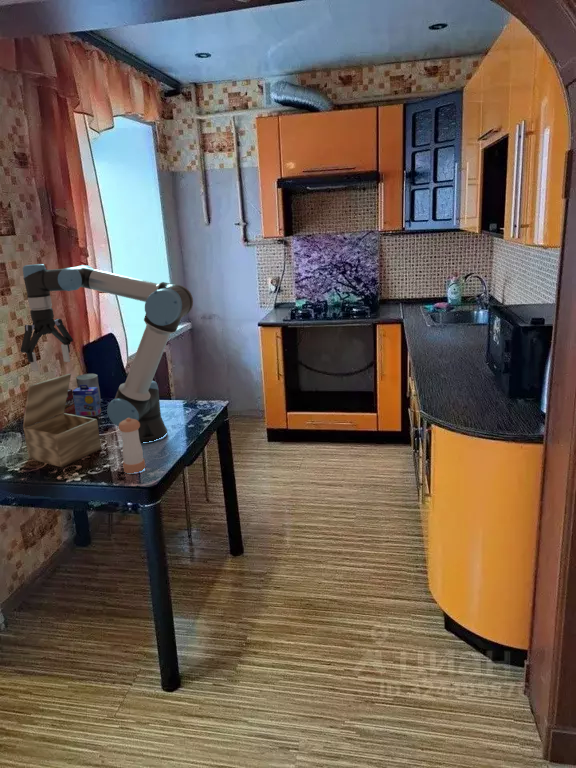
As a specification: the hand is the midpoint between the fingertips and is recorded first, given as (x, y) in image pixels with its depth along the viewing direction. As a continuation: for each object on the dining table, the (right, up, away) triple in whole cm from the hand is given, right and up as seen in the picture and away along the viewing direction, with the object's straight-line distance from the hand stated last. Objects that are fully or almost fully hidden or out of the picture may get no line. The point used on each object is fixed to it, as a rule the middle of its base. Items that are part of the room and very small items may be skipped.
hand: (51, 366), depth 204 cm
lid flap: (-1, -13, 0) cm, 13 cm away
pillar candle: (-8, -16, +62) cm, 65 cm away
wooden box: (+4, -33, +3) cm, 33 cm away
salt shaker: (+34, -37, -13) cm, 52 cm away
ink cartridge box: (-3, -21, +47) cm, 51 cm away
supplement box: (-6, -25, +31) cm, 41 cm away
